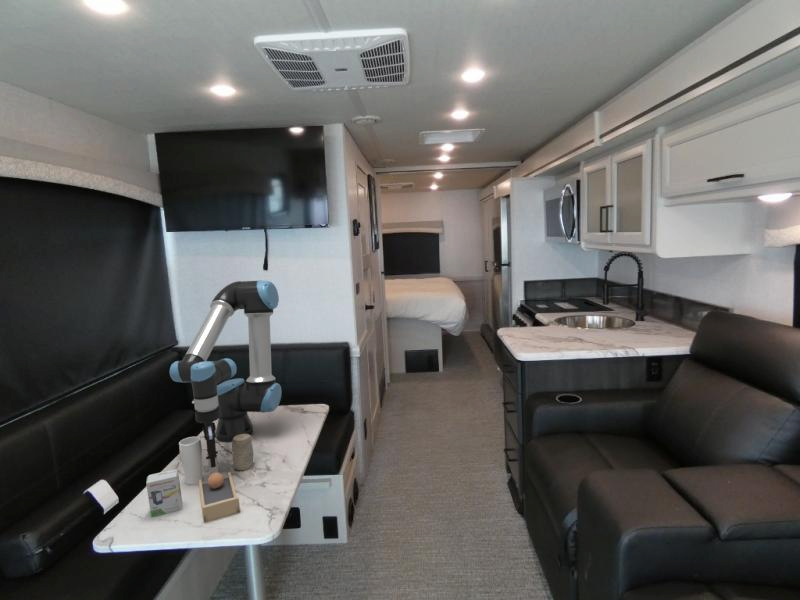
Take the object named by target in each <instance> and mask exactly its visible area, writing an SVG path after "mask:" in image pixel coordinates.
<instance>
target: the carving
mask: <svg viewBox="0 0 800 600" xmlns="http://www.w3.org/2000/svg"><path fill="white" fill-rule="evenodd" d="M231 449H232V451H231V452H232V461H233V462H232V463H233V468H234V469H235V470H237V471H248V470H250V469H251V468H252V467H253V466H254V454H255V453H254V446H253V440H252V435H249V434H239V435H237V436H235V437H234V438H233V440H232V441H231Z"/></svg>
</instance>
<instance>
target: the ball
mask: <svg viewBox="0 0 800 600" xmlns="http://www.w3.org/2000/svg"><path fill="white" fill-rule="evenodd" d="M224 479H225V478H224V475H223V474H222V473H220V472H219V471H218V472H216V473H213V474H211V475H210V474H209V476H208V478H207V483H208V485H209V487H211V488H213V489H216V488H219V487H220V486H221V485H222V484H223V482H224Z"/></svg>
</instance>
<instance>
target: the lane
mask: <svg viewBox="0 0 800 600" xmlns="http://www.w3.org/2000/svg"><path fill="white" fill-rule="evenodd" d="M202 481H203V480H202ZM202 481H201V479H200V480H199V483H198V484H199V493H200V500H201V510H202V511H201V512H202V517H203V523H207V522H210V521H214V520H218V519H221V518H225V517H228V516H231V515H236V514H238V513H241V507H240V498H239V496H237V492H236V489H235V485H234V481H233V477H232V474H231V471H229V472H227V477H225V478H224V482H223V484H222V485H221V486H220V487H219V488H216V489H213V488H211V487H209V485H208V482H205V483H203V482H202Z"/></svg>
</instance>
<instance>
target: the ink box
mask: <svg viewBox="0 0 800 600" xmlns="http://www.w3.org/2000/svg"><path fill="white" fill-rule="evenodd" d="M145 483H146V491H147V497H148V504H149V510H150V517H151V518H153V517H157V516H161V515H165V514H168V513H173V512H178V511H181V510H183V498H182V497H183V496H182V489H181V484H180V483H181V481H180V474H179V469H171V470H167V471H162V472H161V471H160V472H157V473H152V474H149V475H148V476H147V477H146V482H145Z"/></svg>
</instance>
